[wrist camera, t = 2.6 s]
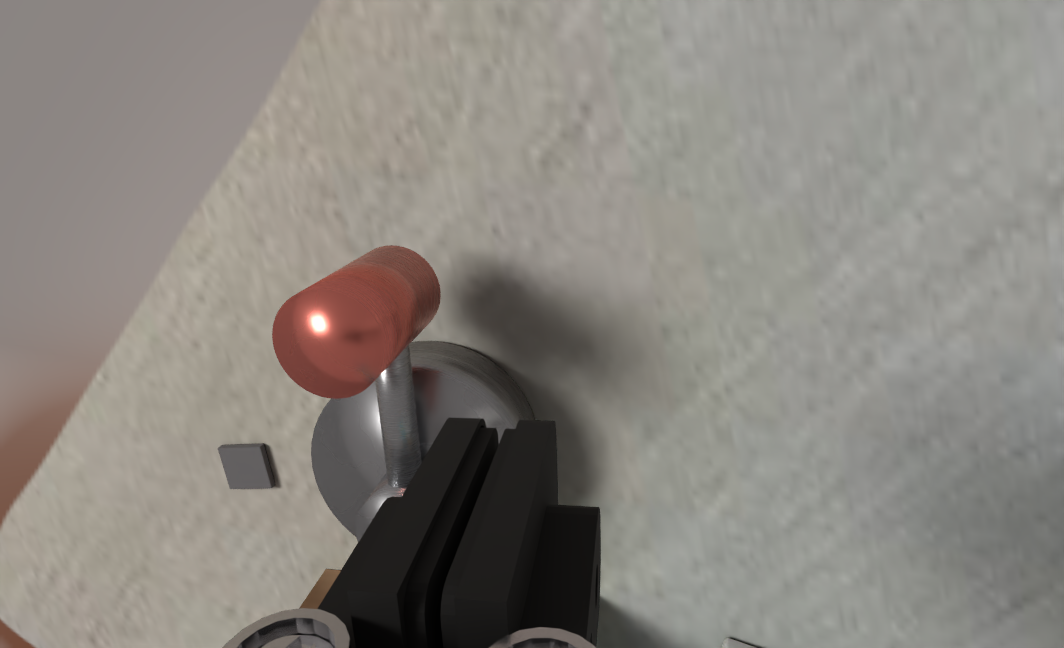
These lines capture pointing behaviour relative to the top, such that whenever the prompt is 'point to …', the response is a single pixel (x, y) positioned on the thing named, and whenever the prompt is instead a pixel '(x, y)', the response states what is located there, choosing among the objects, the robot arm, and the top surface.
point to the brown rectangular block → (320, 589)
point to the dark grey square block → (246, 466)
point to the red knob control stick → (382, 378)
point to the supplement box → (735, 644)
